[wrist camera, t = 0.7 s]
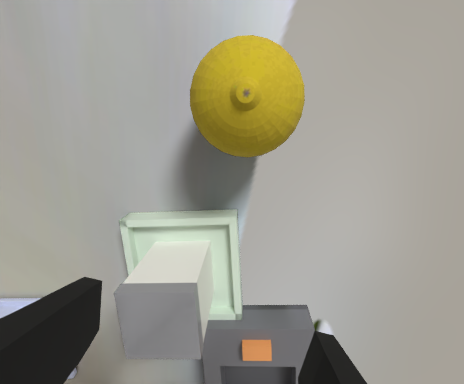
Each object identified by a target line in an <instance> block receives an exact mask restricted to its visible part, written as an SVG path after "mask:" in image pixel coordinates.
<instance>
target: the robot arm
mask: <svg viewBox="0 0 464 384" xmlns="http://www.w3.org/2000/svg"><path fill="white" fill-rule="evenodd" d="M101 291H102V281H100V280H96V279H92V278H87V277H83V278H81V279H79V280H77V281H75V282H73V283H71V284H69V285H67V286H65V287H63V288H61V289H59V290H57V291H55V292H53V293H51V294H49V295H47V296H45V297H43V298H0V384H64V382H65V381H66V379H72V378H74V376H75V375H76V373H77V371H76V366H77V365H78V363H79V362H80V361H81V359H82V357H83V356H84V354H85V352H86V351H87V349H88V348H89V346H90V344H91V343H92V341H93V339H94V337H95V336H96V334H97V332H98V331H99V325H100V308H101ZM298 384H367V383H366V381H365V380H364V379H363V377H362V376H361V374H360V373H359V371H358V370H357V369H356V367H355V366H354V364H353V363H352V361H351V360H350V359H349V357H348V356H347V354H346V353H345V351H344V350H343V348H342V347H341V346H340V344H339V343H338V341H337V340H336V338H335V337H334V336H333V335H329V334H325V333H321V332H317V331H314V334H313V337H312V340H311V342H310V345H309V348H308V351H307V354H306V356H305V359H304V362H303V365H302V368H301V370H300V373H299V376H298Z"/></svg>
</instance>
